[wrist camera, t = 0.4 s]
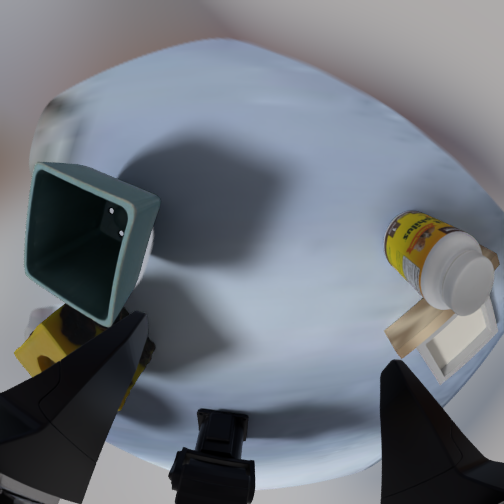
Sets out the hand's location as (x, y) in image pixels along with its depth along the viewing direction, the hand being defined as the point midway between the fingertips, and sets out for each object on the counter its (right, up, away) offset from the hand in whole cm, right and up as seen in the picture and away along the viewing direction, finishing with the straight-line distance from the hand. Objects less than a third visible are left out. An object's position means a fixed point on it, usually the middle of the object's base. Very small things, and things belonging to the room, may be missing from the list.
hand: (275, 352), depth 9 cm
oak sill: (+18, -1, +14) cm, 23 cm away
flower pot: (-12, +7, +14) cm, 19 cm away
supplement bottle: (+13, +5, +13) cm, 19 cm away
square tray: (+23, -6, +16) cm, 29 cm away
